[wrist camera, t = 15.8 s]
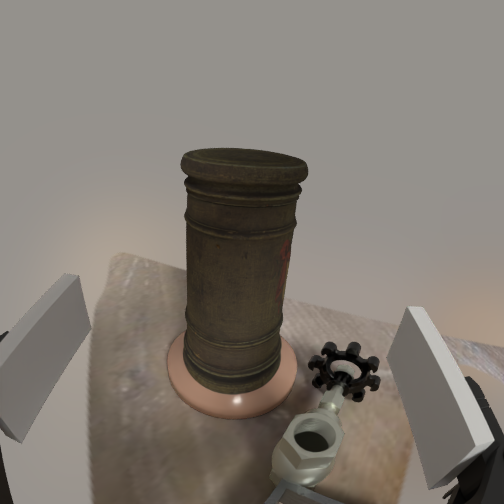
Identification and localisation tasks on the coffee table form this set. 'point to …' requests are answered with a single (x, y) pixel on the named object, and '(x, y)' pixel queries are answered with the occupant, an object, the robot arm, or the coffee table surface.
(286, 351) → the peach soap bar
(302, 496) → the collar
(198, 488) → the coffee table surface
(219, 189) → the container
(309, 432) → the valve
